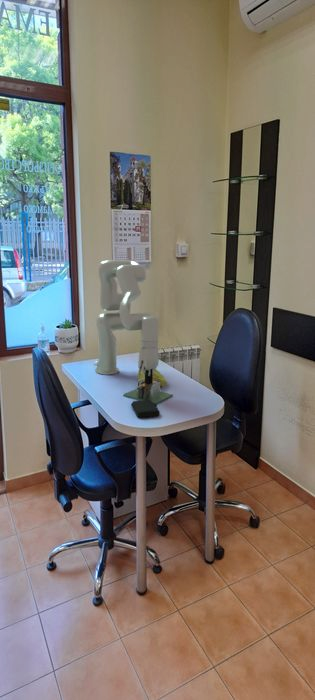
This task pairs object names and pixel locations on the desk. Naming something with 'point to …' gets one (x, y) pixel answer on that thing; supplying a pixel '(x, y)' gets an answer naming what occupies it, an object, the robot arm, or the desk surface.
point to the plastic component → (154, 377)
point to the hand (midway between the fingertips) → (148, 383)
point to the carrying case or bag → (145, 409)
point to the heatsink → (148, 392)
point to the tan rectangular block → (145, 386)
